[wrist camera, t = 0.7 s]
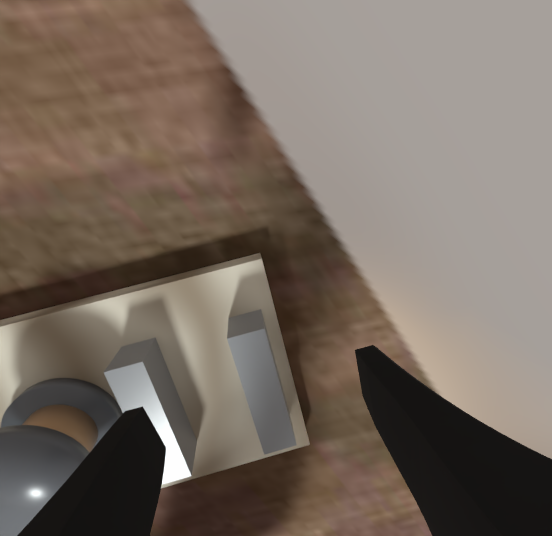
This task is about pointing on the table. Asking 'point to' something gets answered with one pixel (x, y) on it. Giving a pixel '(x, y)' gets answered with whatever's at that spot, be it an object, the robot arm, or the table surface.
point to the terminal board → (173, 344)
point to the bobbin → (47, 443)
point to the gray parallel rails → (168, 407)
